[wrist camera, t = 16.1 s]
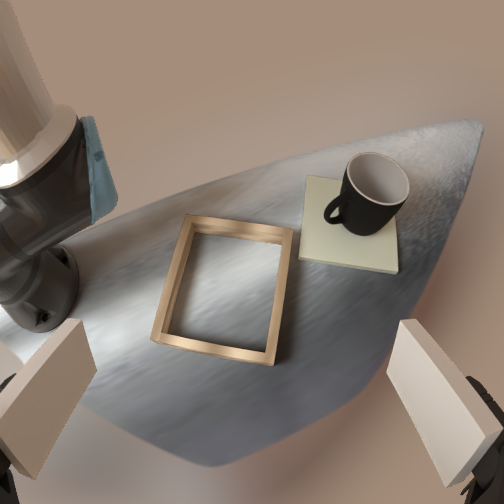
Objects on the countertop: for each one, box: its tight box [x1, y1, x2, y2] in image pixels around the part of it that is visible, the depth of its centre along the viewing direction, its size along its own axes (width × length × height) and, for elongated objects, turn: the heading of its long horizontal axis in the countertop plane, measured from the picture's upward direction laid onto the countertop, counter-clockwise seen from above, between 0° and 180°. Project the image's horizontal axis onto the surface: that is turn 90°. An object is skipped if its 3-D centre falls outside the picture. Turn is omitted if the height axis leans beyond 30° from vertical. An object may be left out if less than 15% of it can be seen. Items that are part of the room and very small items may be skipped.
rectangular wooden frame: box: [150, 214, 293, 366], centre depth 40 cm, size 15×18×3 cm
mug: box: [323, 152, 410, 236], centre depth 41 cm, size 12×9×10 cm
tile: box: [298, 175, 398, 274], centre depth 46 cm, size 15×15×1 cm
